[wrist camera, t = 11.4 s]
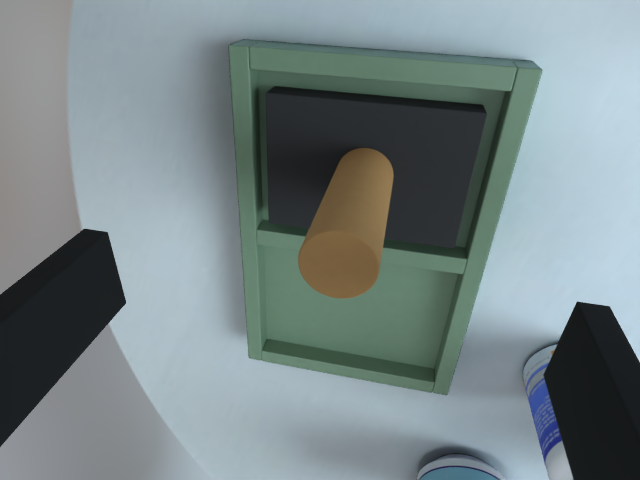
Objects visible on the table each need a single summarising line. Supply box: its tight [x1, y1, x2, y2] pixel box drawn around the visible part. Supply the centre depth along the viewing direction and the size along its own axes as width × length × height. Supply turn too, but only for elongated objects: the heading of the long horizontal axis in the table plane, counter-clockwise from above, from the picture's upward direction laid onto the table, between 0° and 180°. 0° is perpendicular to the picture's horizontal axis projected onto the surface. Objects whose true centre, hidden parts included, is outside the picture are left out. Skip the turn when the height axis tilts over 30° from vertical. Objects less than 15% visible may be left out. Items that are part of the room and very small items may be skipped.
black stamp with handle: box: [265, 86, 487, 299], centre depth 19 cm, size 7×10×10 cm
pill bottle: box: [523, 344, 573, 480], centre depth 24 cm, size 5×5×10 cm
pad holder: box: [228, 39, 542, 395], centre depth 25 cm, size 20×14×2 cm
